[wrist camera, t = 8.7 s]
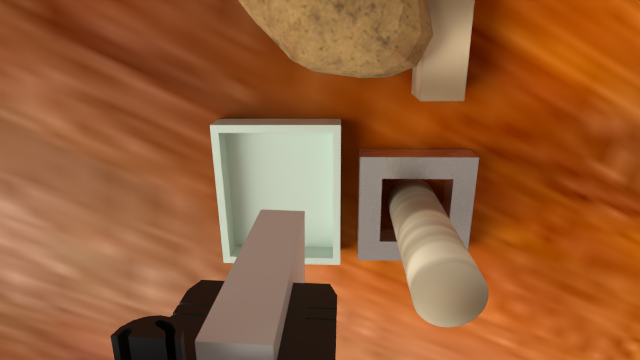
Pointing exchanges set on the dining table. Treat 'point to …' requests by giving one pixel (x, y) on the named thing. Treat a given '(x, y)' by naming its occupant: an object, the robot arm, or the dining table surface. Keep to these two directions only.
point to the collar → (412, 164)
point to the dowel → (434, 257)
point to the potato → (347, 33)
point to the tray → (279, 179)
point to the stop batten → (445, 52)
